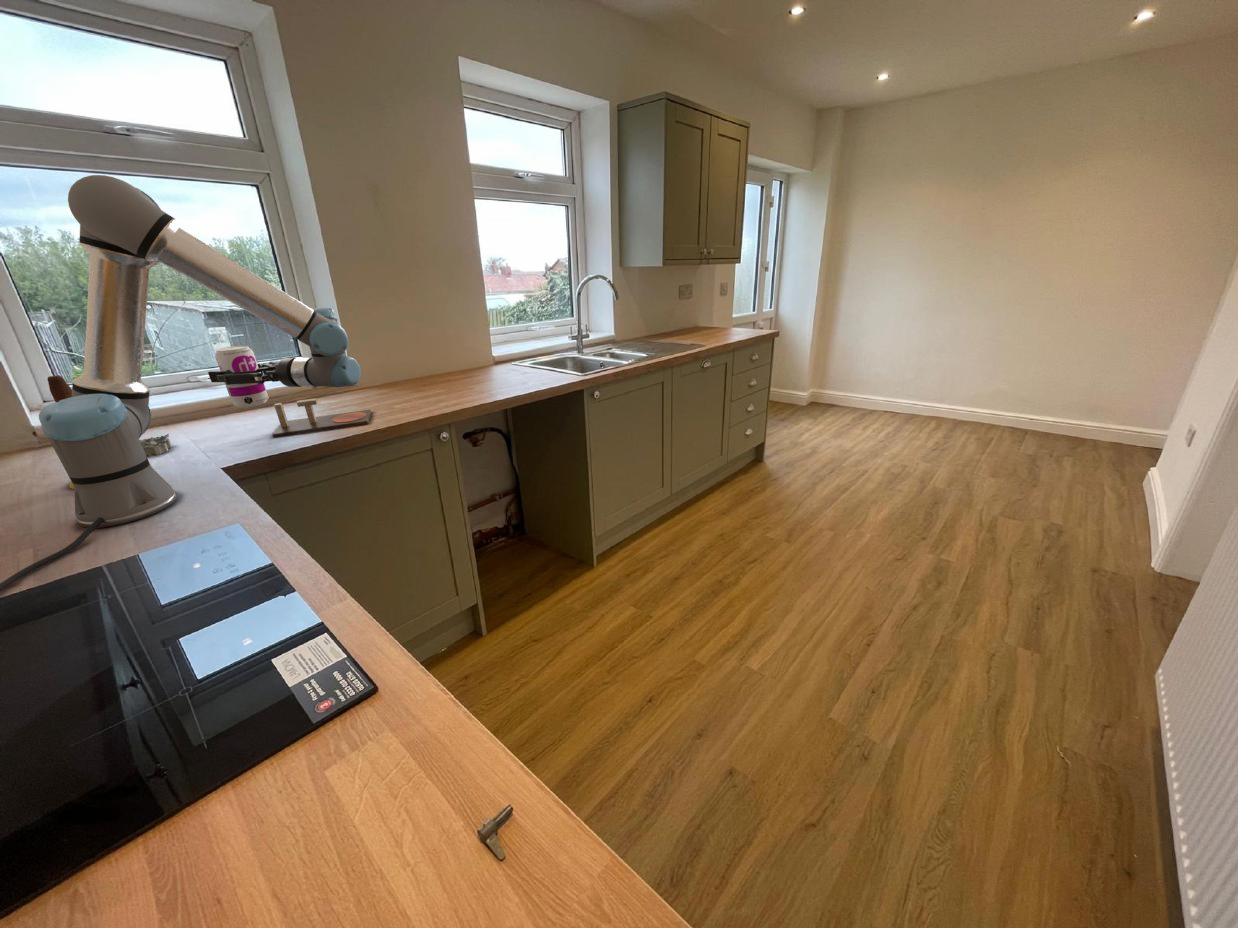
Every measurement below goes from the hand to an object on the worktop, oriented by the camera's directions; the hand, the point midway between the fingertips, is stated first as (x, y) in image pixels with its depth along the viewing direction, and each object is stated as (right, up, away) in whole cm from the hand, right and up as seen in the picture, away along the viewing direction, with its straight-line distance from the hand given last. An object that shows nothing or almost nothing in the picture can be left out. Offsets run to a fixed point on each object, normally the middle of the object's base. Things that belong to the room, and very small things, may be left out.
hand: (225, 372), depth 134 cm
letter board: (+15, -12, +19) cm, 27 cm away
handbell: (-19, -28, -13) cm, 36 cm away
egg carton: (-23, -22, +3) cm, 32 cm away
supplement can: (+5, -8, +3) cm, 10 cm away
